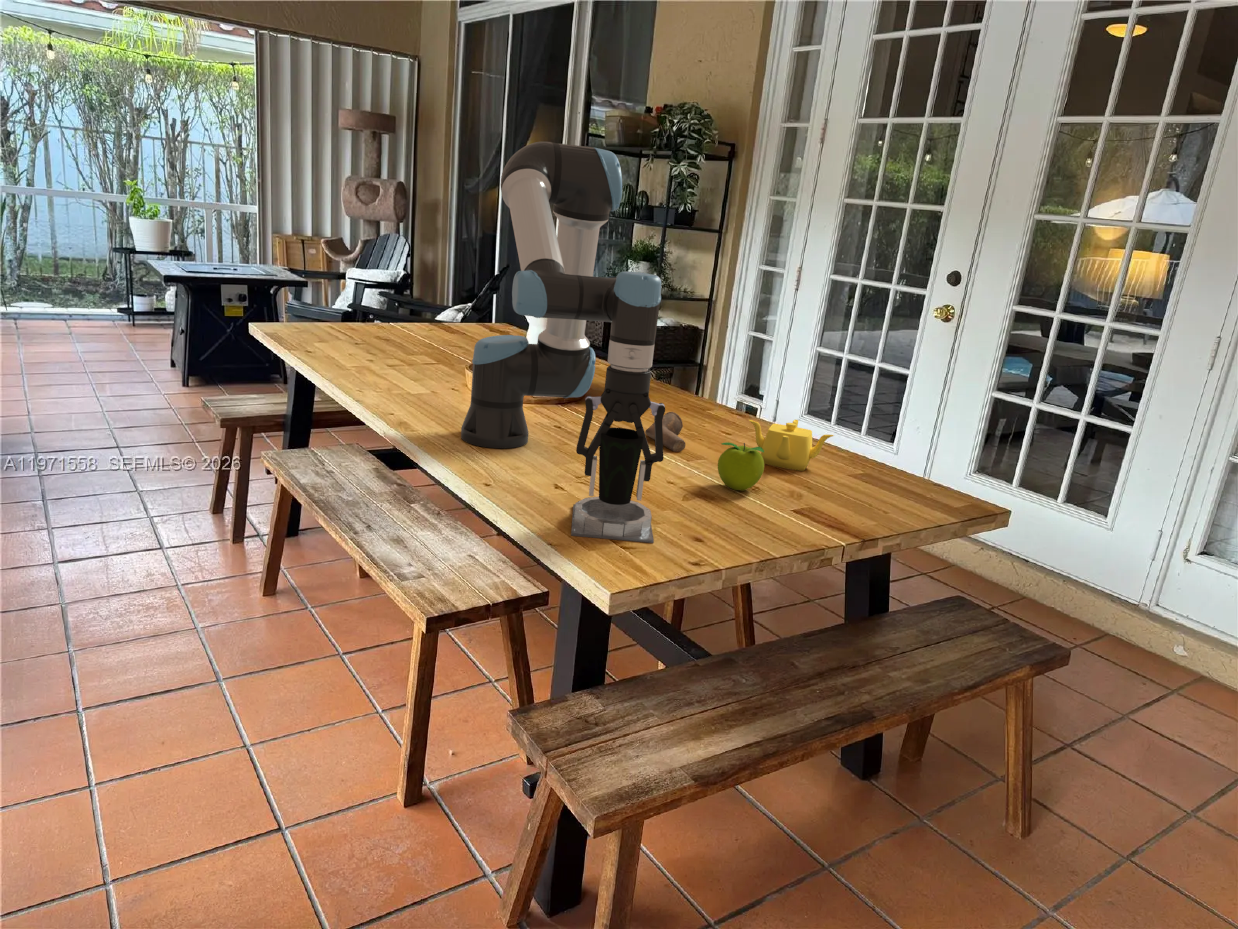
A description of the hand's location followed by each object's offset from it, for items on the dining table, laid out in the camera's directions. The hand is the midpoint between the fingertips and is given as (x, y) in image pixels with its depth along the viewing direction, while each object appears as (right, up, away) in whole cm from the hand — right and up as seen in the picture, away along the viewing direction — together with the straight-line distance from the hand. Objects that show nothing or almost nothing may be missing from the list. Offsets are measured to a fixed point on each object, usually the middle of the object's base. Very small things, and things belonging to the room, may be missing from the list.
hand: (615, 495), depth 147 cm
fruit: (+26, 0, +29) cm, 39 cm away
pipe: (+13, +10, +58) cm, 61 cm away
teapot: (+40, +6, +52) cm, 66 cm away
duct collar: (-1, -5, +2) cm, 5 cm away
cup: (0, -1, 0) cm, 1 cm away
